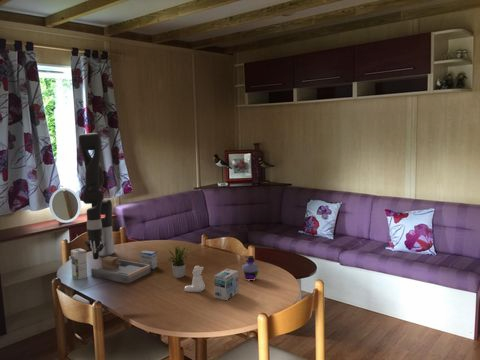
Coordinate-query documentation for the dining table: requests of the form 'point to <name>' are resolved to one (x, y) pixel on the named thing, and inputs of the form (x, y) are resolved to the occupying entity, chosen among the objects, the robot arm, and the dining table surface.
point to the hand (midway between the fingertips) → (95, 259)
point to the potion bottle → (250, 268)
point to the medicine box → (149, 258)
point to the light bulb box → (226, 284)
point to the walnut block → (110, 263)
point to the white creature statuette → (196, 281)
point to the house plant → (178, 262)
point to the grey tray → (123, 271)
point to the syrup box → (79, 264)
